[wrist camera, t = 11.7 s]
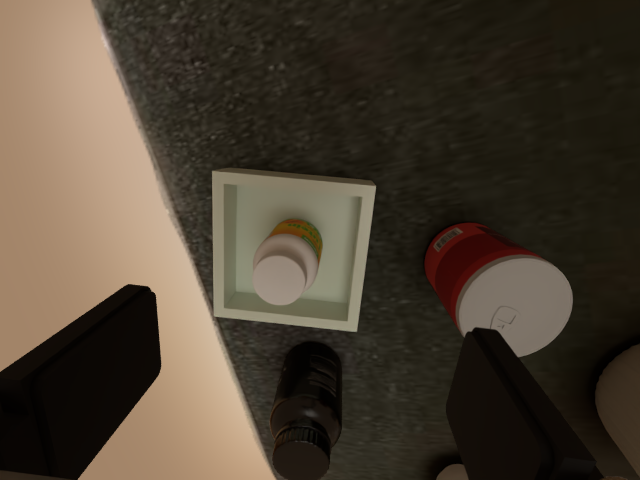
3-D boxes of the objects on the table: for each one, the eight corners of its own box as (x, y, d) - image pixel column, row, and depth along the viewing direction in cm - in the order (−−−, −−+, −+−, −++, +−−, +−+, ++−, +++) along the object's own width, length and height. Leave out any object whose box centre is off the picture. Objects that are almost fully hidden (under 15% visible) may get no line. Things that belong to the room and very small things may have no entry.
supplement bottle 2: (273, 354, 38) (243, 446, 27) (324, 331, 37) (316, 417, 25) (302, 398, 40) (286, 502, 28) (352, 377, 38) (357, 478, 27)
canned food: (415, 289, 35) (447, 352, 24) (431, 215, 32) (474, 250, 22) (488, 298, 34) (553, 366, 24) (509, 225, 32) (590, 264, 22)
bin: (229, 167, 32) (212, 170, 28) (371, 180, 32) (376, 186, 27) (229, 295, 36) (213, 316, 32) (355, 309, 36) (356, 331, 31)
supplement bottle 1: (333, 234, 33) (329, 270, 23) (306, 276, 34) (292, 326, 25) (286, 206, 32) (263, 231, 23) (261, 250, 34) (229, 291, 24)
